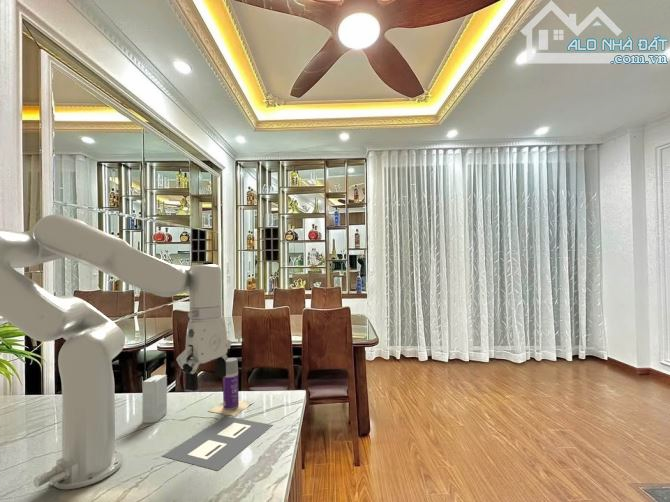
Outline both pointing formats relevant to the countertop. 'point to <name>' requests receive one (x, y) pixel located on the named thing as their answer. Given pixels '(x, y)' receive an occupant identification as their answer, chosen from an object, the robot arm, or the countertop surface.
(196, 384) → the robot arm
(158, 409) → the skincare box
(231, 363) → the container
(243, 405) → the oak pad
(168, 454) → the label mat
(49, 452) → the countertop surface
